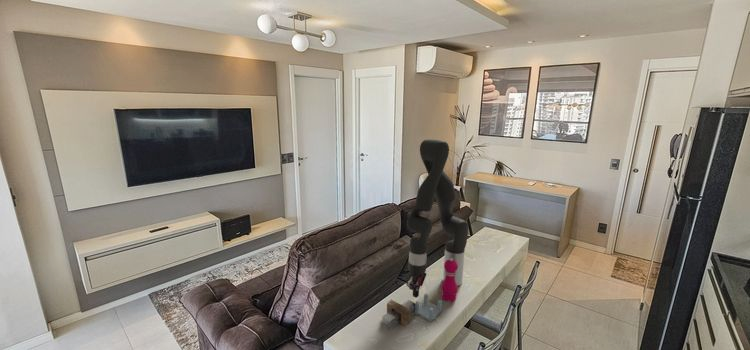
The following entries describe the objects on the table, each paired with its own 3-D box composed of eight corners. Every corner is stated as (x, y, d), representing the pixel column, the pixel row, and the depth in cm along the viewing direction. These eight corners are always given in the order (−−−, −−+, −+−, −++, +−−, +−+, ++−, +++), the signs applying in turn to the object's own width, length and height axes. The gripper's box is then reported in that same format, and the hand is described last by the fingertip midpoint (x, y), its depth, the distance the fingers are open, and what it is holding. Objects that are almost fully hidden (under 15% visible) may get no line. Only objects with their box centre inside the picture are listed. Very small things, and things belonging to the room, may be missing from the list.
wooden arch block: (391, 312, 133) (391, 299, 132) (409, 322, 127) (410, 309, 126) (386, 315, 131) (387, 303, 130) (405, 326, 125) (406, 313, 124)
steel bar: (408, 307, 137) (408, 299, 136) (415, 312, 134) (416, 303, 133) (382, 324, 126) (382, 316, 125) (389, 330, 123) (389, 321, 122)
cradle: (425, 302, 140) (426, 292, 138) (441, 310, 134) (442, 300, 133) (414, 313, 133) (414, 302, 132) (430, 321, 128) (431, 310, 127)
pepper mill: (454, 292, 147) (457, 253, 143) (458, 302, 140) (462, 261, 136) (439, 292, 147) (441, 253, 142) (442, 302, 140) (445, 261, 135)
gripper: (418, 252, 142) (416, 286, 146) (401, 263, 132) (399, 299, 136) (433, 258, 137) (430, 293, 141) (416, 269, 127) (414, 307, 131)
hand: (415, 296), depth 138 cm, fingers closed
